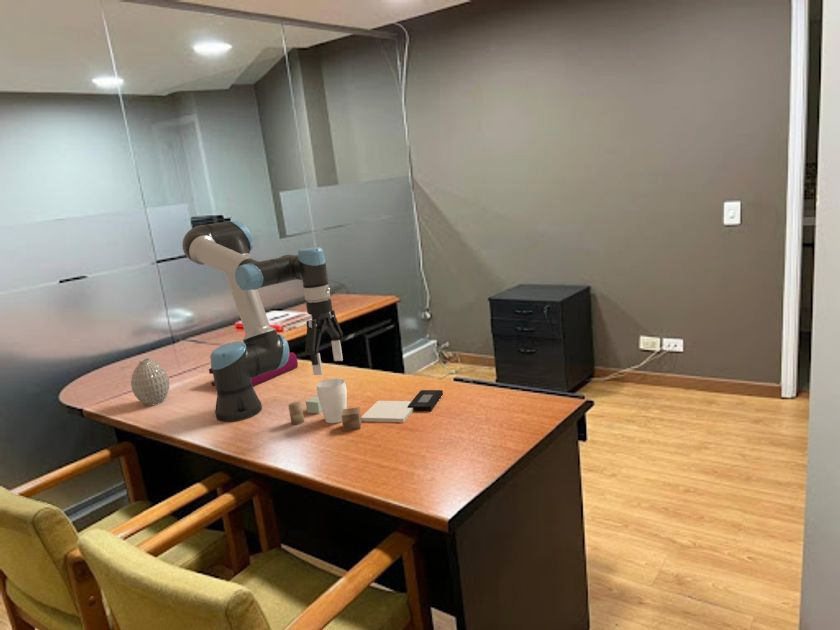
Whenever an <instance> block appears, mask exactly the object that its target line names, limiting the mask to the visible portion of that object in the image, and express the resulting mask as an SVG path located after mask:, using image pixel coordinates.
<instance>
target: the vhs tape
mask: <svg viewBox="0 0 840 630" xmlns="http://www.w3.org/2000/svg"><path fill="white" fill-rule="evenodd" d="M443 391H444V390H442V389H420V391H418V393H417V394H416V395H415V396H414V398H413V399H412V400H410V401H411V403H410V404H409V405H408V408H413V412H423V413H424V412H426V413H427V412H428V413H430V412H432V410H433V409H434V408H435V407H436V406H437V404H438V403H437V402H439V401H440V400H441V399H442V397H443V396H444V392H443ZM442 395H443V396H442ZM441 396H442V397H441ZM439 399H440V400H439Z"/></svg>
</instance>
